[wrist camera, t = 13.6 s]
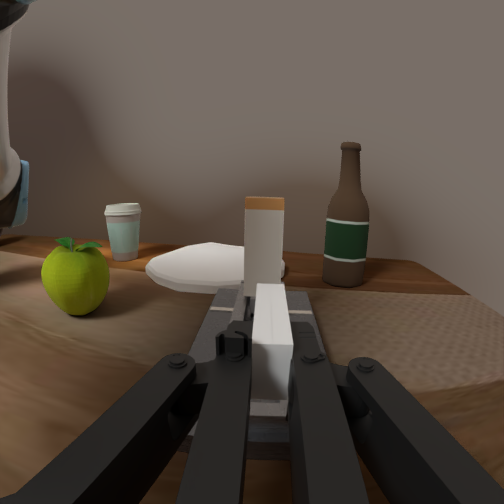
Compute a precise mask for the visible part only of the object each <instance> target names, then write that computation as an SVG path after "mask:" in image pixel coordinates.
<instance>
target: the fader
mask: <svg viewBox="0 0 504 504" xmlns="http://www.w3.org/2000/svg"><path fill="white" fill-rule="evenodd" d="M283 223H284V198H278V197H245V237H244V239H245V241H244V294H243V296H251V298H250V313H254V312H255V301H256V290H257V283H262V284H281V267H282V247H283Z"/></svg>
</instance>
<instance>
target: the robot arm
mask: <svg viewBox="0 0 504 504" xmlns="http://www.w3.org/2000/svg"><path fill="white" fill-rule="evenodd" d="M34 1H37V0H0V229H1V228H12V227H13V226H18V225H22V224H23V223H24V222H25V221H26V219H27V205H28V200H27V198H28V181H29V163H28V162H27V161H23V160H20V159H19V157H18V155H17V153H16V152H15V151H14V150H13V149H12V148H10V142H9V131H8V112H7V77H8V59H9V47H10V38H11V31H12V27H13V26H14V25H15V24H17V23H18V22H19V21H20V20H21V19H22V18H23V17H24V16H25V14H26V13H27V10H28V6H29V4H30V3H32V2H34ZM215 340H216V358H215V359H214V360H211V361H209V362H203V363H195V359H193V358H192V357H191V356H189V355H187V354H181V353H175V354H170V355H167V356H165V357H164V358H162V359H161V360H160V361H159V362H158V363H157V364H156V365H155V366H154V367H153V368H152V369H151V370H149V371H148V372H147V373H146V374H145V375H144V376H143V377H142V378H141V379H140V380H139V381H138V382H137V383H136V384H135V385H134V386H132V387H131V388H130V389H129V390H128V391H127V392H126V393H125V394H124V395H123V396H122V397H121V398H120V399H119V400H118V401H116V402H115V403H114V404H113V405H112V406H111V407H110V408H109V409H108V410H107V411H106V412H105V413H104V414H103V415H101V416H100V417H99V418H98V419H97V420H96V421H95V422H94V423H93V424H92V425H91V426H90V427H88V428H87V429H86V430H85V431H84V432H83V433H82V434H81V435H80V436H79V437H78V438H76V439H75V440H74V441H73V442H72V443H71V444H70V445H69V446H68V447H67V448H65V449H64V450H63V451H62V452H61V453H60V454H59V455H58V456H57V457H56V458H54V459H53V460H52V461H51V462H50V463H49V464H48V465H47V466H46V467H44V468H43V469H42V470H41V471H40V472H39V473H38V474H37V475H36V476H34V477H33V478H32V479H31V480H30V481H29V482H28V483H27V484H25V485H24V486H23V487H22V488H21V489H20V490H19V491H17V492H16V493H14V494H12V495H9V496H6V497H3V498H0V504H139V502H140V501H141V500H142V498H143V497H144V496H145V494H146V493H147V492H148V490H149V489H150V487H151V486H152V485H153V483H154V482H155V481H156V479H157V478H158V476H159V475H160V474H161V472H162V471H163V470H164V468H165V467H166V465H167V464H168V462H169V461H170V460H171V458H172V457H173V455H174V454H175V453H176V451H177V450H178V448H179V447H180V445H181V444H182V442H183V441H184V440H185V438H186V437H187V435H188V434H189V432H190V431H191V429H192V428H193V426H194V425H195V423H196V422H197V420H198V422H197V426H196V429H195V433H194V437H193V440H192V444H191V448H190V451H189V455H188V459H187V462H186V466H185V470H184V473H183V477H182V481H181V484H180V488H179V492H178V495H177V499H176V503H175V504H243V492H244V480H245V468H246V456H247V443H248V430H249V417H250V399H263V400H287V397H288V406H287V413H286V421H288V428H289V444H290V461H291V480H292V502H293V504H369V500H368V496H367V492H366V488H365V484H364V481H363V477H362V473H361V469H360V465H359V462H358V458H357V454H356V451H357V453H358V454H359V456H360V457H361V459H362V461H363V462H364V464H365V465H366V467H367V468H368V470H369V472H370V473H371V475H372V476H373V478H374V479H375V481H376V482H377V484H378V486H379V487H380V489H381V490H382V492H383V493H384V495H385V496H386V498H387V499H388V501H389V503H390V504H504V489H503V488H502V487H501V486H500V485H499V484H498V483H497V482H496V481H495V480H494V479H493V478H492V477H491V476H490V475H489V474H488V473H487V472H486V471H485V470H484V469H483V467H482V466H481V465H480V464H479V463H478V462H477V461H476V460H475V459H474V458H473V457H472V456H471V455H470V454H469V453H468V452H467V451H466V450H465V449H464V448H463V447H462V446H461V445H460V444H459V443H458V442H457V441H456V440H455V439H454V438H453V436H452V435H451V434H450V433H449V432H448V431H447V430H446V429H445V428H444V427H443V426H442V425H441V424H440V423H439V422H438V421H437V420H436V419H435V418H434V417H433V416H432V415H431V414H430V413H429V412H428V411H427V410H426V409H425V408H424V407H423V406H422V405H421V404H420V403H419V402H418V401H417V400H416V399H415V398H414V397H413V396H412V395H411V394H410V393H409V392H408V391H407V390H406V389H405V388H404V387H403V386H402V385H401V384H400V383H399V382H398V381H397V380H396V379H395V378H394V377H393V376H392V375H391V374H390V373H389V372H388V371H387V370H386V369H385V368H384V367H383V366H382V365H381V364H380V363H379V362H378V361H376V360H374V359H371V358H368V357H367V358H366V357H358V358H355V359H352V360H351V361H350V362H349V365H348V366H341V365H336V364H333V363H330V362H329V360H328V357H327V356H326V354H324V353H322V352H321V351H320V347H319V344H318V341H317V338H316V334H315V331H314V327H313V326H312V325H311V324H310V323H308V322H292V321H290V319H289V313H288V307H287V301H286V295H285V289H284V284H262V283H257V290H256V301H255V312H254V321H238V320H233V321H232V322H231V323H230V324H228V327H227V330H224V331H221V332H219V333H218V334H217V335H216V336H215ZM355 450H356V451H355Z"/></svg>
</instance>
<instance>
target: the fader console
mask: <svg viewBox="0 0 504 504" xmlns="http://www.w3.org/2000/svg"><path fill="white" fill-rule="evenodd" d="M281 284H284V282H281ZM284 289H285V285H284ZM243 294H244V280H241V284H240V287H239V289H226V288H219V289H218V291H217V293H216V295H215V297H214V299H213V301H212V303H211V306H210V308H209V310H208V312H207V314H206V316H205V318H204V321H203V323H202V325H201V327H200V329H199V331H198V334H197V336H196V338H195V340H194V342H193V344H192V347H191V349H190V351H189V353H188V355H189V356H191V357H192V358H193V359H195V363H203V362H209V361H211V360H214V359H215V358H216V340H215V336H216V335H217V334H218V333H219V332H221V331H224V330H227V327H228V324H230V323H231V322H232V321H233V320H238V321H254V313H250V298H251V296H243ZM285 295H286V301H287V307H288V313H289V319H290V321H292V322H308V323H310V324H311V325H312V326H313V327H314V331H315V334H316V338H317V341H318V344H319V347H320V351H321V352H322V353H324V354H326V352H325V349H324V346H323V342H322V339H321V336H320V333H319V329H318V326H317V323H316V320H315V317H314V314H313V310H312V307H311V304H310V301H309V298H308V295H307V292H306V291H285ZM287 406H288V397H287V400H263V399H250V417H249V430H248V443H247V456H246V459H258V460H290V444H289V428H288V421H286V413H287ZM197 422H198V420H197ZM197 422H196V423H195V425H194V426H193V428H192V429H191V431H190V432H189V434H188V435H187V437H186V438H185V440H184V441H183V442H182V444H181V445H180V447H179V448H178V450H177V451H182V452H188V453H189V451H190V448H191V444H192V440H193V437H194V433H195V429H196V426H197Z"/></svg>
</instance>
